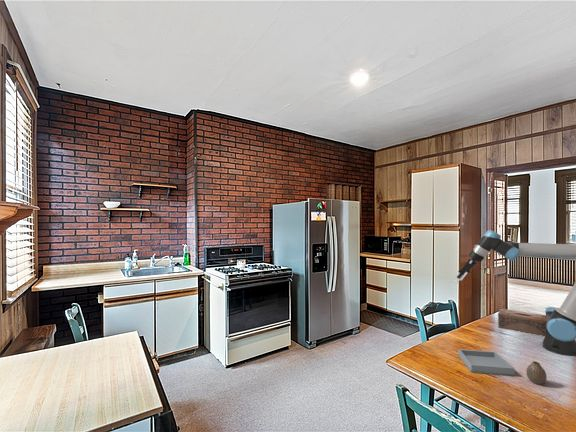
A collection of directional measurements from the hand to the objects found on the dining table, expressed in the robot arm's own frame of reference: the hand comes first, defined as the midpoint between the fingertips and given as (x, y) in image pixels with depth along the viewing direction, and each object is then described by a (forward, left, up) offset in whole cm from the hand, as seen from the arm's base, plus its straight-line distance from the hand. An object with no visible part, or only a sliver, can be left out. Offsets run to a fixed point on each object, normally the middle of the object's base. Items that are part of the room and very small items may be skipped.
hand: (457, 280), depth 185 cm
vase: (-16, +50, -35) cm, 63 cm away
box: (0, +37, -35) cm, 51 cm away
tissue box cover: (-47, -22, -36) cm, 63 cm away
